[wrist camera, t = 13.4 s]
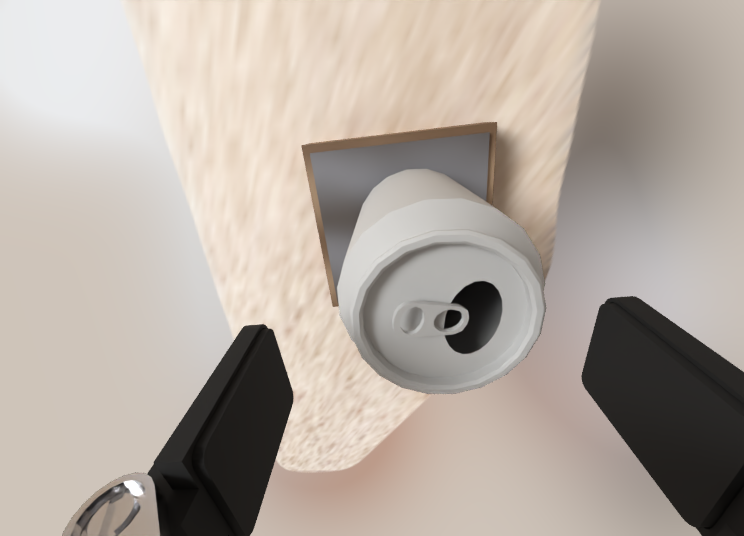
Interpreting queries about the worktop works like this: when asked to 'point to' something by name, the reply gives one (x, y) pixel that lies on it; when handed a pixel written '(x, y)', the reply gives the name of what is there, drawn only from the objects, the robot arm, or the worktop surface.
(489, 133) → the plinth
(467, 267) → the can
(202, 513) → the robot arm
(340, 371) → the worktop surface
